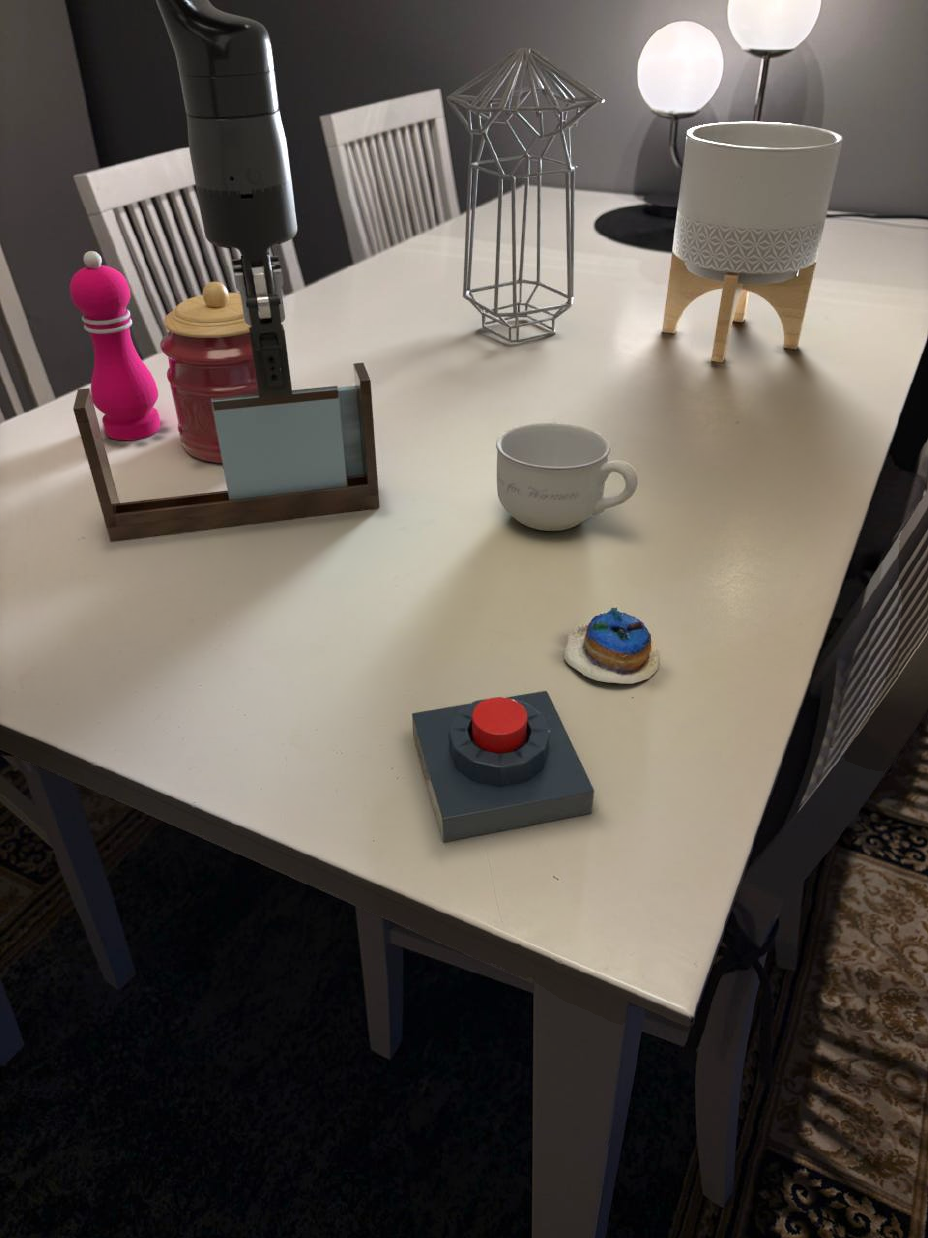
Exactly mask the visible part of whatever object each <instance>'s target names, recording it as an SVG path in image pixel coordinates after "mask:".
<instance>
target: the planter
mask: <svg viewBox="0 0 928 1238" xmlns="http://www.w3.org/2000/svg"><path fill="white" fill-rule="evenodd" d="M843 142H844V137H843V136H842V134H840V133H838V132H835V131H833V130H829V129H825V128H821V127H816V126H812V125H811V126H810V125H804V124H803V125H802V124H794V123H783V122H766V121H765V122H764V121H734V122H733V121H731V122H718V123H717V122H716V123H707V124H703V125H702V124H701V125H698V126H694V127H691V128H689V129H688V130H687V131H686V137H685V147H684V154H683V162H682V168H681V169H682V170H681V177H680V186H679V194H678V200H677V201H678V202H677V209H676V217H675V225H674V226H675V227H674V233H673V239H672V240H673V241H672V251H671V256H670V257H671V259H670V265H669V273H668V280H667V281H668V282H667V288H666V289H667V290H666V297H665V304H664V305H665V306H664V312H663V321H662V329H661V332H662V333H666V334H667V333H669V334H676V332H677V331H678V326H679V322H680V319H681V317H682V315H683V313H684V311H685V310H686V308H687V307H688V306H689V305H690V304H691V303H692V302H694V301H695V300H696V299H697V298H699V297H701V296H702V295H705V294H707V293H710V292H713V291H716V290H721V297H720V303H719V308H718V314H717V315H718V316H717V321H716V327H715V332H714V340H713V345H712V352H711V356H710V357H711V358H710V361H711V362H717V363H724V360H725V359H726V354H727V351H728V350H727V349H728V344H729V339H730V336H731V335H730V334H731V329H732V326H733V322H734V323H735V322H736V323H744V321H745V319H746V314H747V309H748V302H749V299H750V298H749V297H750V293H753V294H755V295H757V296H759V297H761V298H762V299H764V301H766V302H768V304H770V306H771V307H772V308H773V309H774V311H775V312H776V314H777V316H778V317H779V319H780V323H781V325H782V331H783V344H782V348H783V349H792V350H797V349H798V346H799V343H800V338H801V334H802V329H803V324H804V320H805V315H806V311H807V307H808V302H809V298H810V293H811V290H812V289H811V288H812V284H813V279H814V275H815V270H816V265H817V262H816V261H817V260H818V256H819V251H820V247H821V243H822V237H823V233H824V228H825V223H826V220H827V219H826V218H827V214H828V210H829V205H830V201H831V195H832V191H833V188H834V182H835V177H836V172H837V169H838V164H839V160H840V154H841V150H842V145H843Z"/></svg>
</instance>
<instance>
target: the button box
mask: <svg viewBox="0 0 928 1238" xmlns="http://www.w3.org/2000/svg"><path fill="white" fill-rule="evenodd" d="M505 698H509V699H512V700H514V701H516V702H518V703H519V704H521V705H522V706H523V707H524V709H525V710H526V713H527V732H526V739H525V742H524V743H523V744H522V746H521V747H519V748H518V749H516V750H514V751H512V752H508V753H502V754H498V753H493V752H488V751H485V750H483V749H481V748H480V747H479V746H478V745H477V744H476V743H475V742H474V740H473V737H472V713H473V710H474V708H475V707H476V706H477V705H478V704H479V703H480V702H482V701H484V700H486V699H487V698H484V699H478V700H475V701H473V702H471V703H464V704H458V705H453V706H452V705H451V706H447V707H441V708H435V709H428V710H422V711H416V712H412V713H411V717H412V718H411V722H412V737H413V741H414V743H415V746H416V751H417V755H418V757H419V761H420V765H421V768H422V772H423V775H424V779H425V782H426V786H427V790H428V793H429V796H430V801H431V804H432V807H433V811H434V815H435V818H436V822H437V825H438V829H439V832H440V836H441V839H442V842H444V843H445V842H451V841H455V840H461V839H467V838H471V837H476V836H477V837H478V836H481V835H487V834H491V833H496V832H497V833H498V832H502V831H507V830H513V829H517V828H522V827H527V826H532V825H539V824H543V823H547V822H552V821H553V822H554V821H558V820H564V819H569V818H574V817H578V816H583V815H588V814H591V813H593V805H594V795H595V789H594V787H593V785H592V783H591V781H590V779H589V777H588V775H587V772H586V770H585V768H584V766H583V764H582V762H581V760H580V758H579V755H578V753H577V751H576V749H575V747H574V745H573V743H572V741H571V739H570V737H569V734H568V732H567V730H566V729H565V726H564V724H563V722H562V720H561V718H560V715H559V713H558V711H557V709H556V707H555V705H554V703H553V701H552V699H551V696H550V694H549V692H548V691H547V690H541V691H537V692H530V693H524V694H519V695H513V696H507V697H505Z"/></svg>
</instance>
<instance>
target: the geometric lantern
mask: <svg viewBox="0 0 928 1238" xmlns="http://www.w3.org/2000/svg"><path fill="white" fill-rule="evenodd" d="M523 61H524V64H523ZM522 64H523V70H522V75H521V80H520V85H519V89H516V90H515V88H516V84H517V80H518V77H519V73H520V70H521V68H522ZM499 69H500V70H499ZM497 70H499V71H498V72H497V73H496V74H495V75H494V76H493V77H492V79H490V81H489V82H488V83H487V84H486V86H485V87H483V89H482V90H481V92H479V93H478V95H467V94H462V93H463V92H465V91H466V90H468V89H470V88H471V87H473V86H474V85H476V84H477V83H479V82H481V81H482V80H483V79H485V78H486V77H488V76H489V75H491V74H493V73H494V72H496V71H497ZM526 74H527V75H526ZM509 75H510V77H509V80H508V81H507V85H506V87H505V89H504V92H503V95H502V97H501V98H494V96H495V95H496V93H498V90H499V89H500V88H501V86H502V85H503V83H505V81H506V79H507V77H508V76H509ZM526 76H527V80H528V82H529V86H526V87H523V85H524V81H525V77H526ZM545 78H546V79H547V81H548V82H549V84H550V85H551V86H552V87H553V89H554V90H555V91H556V92H553V91H551V88H550V86H549V85H548V83H547V81H546V79H545ZM534 79H535V80H534ZM561 80H562V81H563V82H565V83H566V84H568V85H569V86H570V87H572V88H573V89H575V90H576V91H577V92H579V93H580V94H582V95H583V96H574V95H573V93H572V92H571V91H570V90H569V89H568V88H567V87H566V86H565V85H564V84H563V83H562V81H561ZM535 81H536V83H537V86H538V88H536V84H535ZM490 89H491V90H490ZM489 90H490V91H489ZM488 91H489V92H488ZM537 92H541V94H542V95H543V97H544V98H545V101H546V102H547V104H548V105H541V106H540V105H539V100H538V95H537V94H538V93H537ZM486 93H488V94H487V96H486ZM530 93H531V96H532V101H533V106H521V105H522V103H523V102H524V101H525V100H526V99H527V97H528V96H529V94H530ZM515 96H517V98H516V103H515V104H514V106H513V105H512V107H511V103H512V102H513V97H515ZM445 100H446V102H447V103H448V104H449V106H450V107H451V109H452V111H454V113H455V114H456V116H457V117H458V119H459V120H460V122H461V124H463V126H464V127H465V129H466V131H467V132H468V133H469V134H470V137H469V152H468V153H469V156H468V165H467V181H466V182H467V185H466V211H465V213H466V214H465V232H464V233H465V237H464V259H463V260H464V261H463V281H462V282H463V286H462V298H463V299H465V300H466V301H468V302H469V303H470V304H471V305H472V306H473V307H474V308H475V309H476V310H477V311H478V312H479V314H481V328H483V329H484V330H486V331H488V332H490V333H492V334H494V335H496V336H497V337H499V338H501V339H503V340H505V341H507V342H509V343H521V342H525V341H531V340H534V339H539V338H542V337H547V336H550V335H556V329H555V324H556V319H557V318H558V317H560V316H561V315H563V314H564V313H565V312H566V311H568V310H569V309H571V308H572V307H573V304H574V300H575V296H574V294H575V290H574V289H575V209H576V208H575V206H576V205H575V204H576V203H575V201H576V200H575V198H576V197H575V196H576V195H575V194H576V170H577V169H578V166H577V165H576V164H572V151H571V149H572V148H571V147H572V146H571V129H572V128H573V127H575V128H576V127H578V124H579V123H578V122H579V120H580V119H581V118H582V117H583V116H585V114H587V113H588V112H590V110H592V109H593V108H594V107H596V106H597V105H598V104H604V103H605V102H606V100H605V98H603V97H602V96H601V95H599V94H598V93H597V92H595V91H593V90H592V89H591V88H589V87H588V86H587V85H586V84H584V83H582V82H581V81H580V80H578V79H577V77H575V76H573V75H572V74H570V73H569V72H567V71H566V70H565V69H563V68H562V67H561V66H559V65H558V64H557V63H555V62H554V61H552V60H551V59H550V58H548V57H547V56H546V55H544V54H543V53H542V52H540V51H538V50H537V49H536V48H534V47H532V48H530V47H520V48H517V49H515V50H514V51H512V52H511V53H509V54H508V55H506V56H505V57H503V58H502V59H501V60H499V61H498V62H496V63H495V64H494V65H492V66H490V67H489V68H487V69H486V70H485V71H483V72H482V73H480V74H478V75H477V76H476V77H474V78H473V79H471V80H470V81H468V82H467V83H466V84H464V85H463V86H461V87H459V88H458V89H456V90H455V91H454V92H452V93H450V94H449V95H448V96H446V98H445ZM557 100H558V101H560V102H563V103H564V104H565V106H564V107H560V105H559V103H558V101H557ZM468 101H471V103H469V102H468ZM479 102H481V104H480V105H479V106H477V104H478V103H479ZM455 103H456V104H457V105H460V106H463V108H465V109H466V115H467V120H466V118H465V117H464V115H463V114H462V112H461V111H460V109H459V108H458V107H457V105H456V104H455ZM494 104H495V105H496V104H499V105H498V106H492V105H494ZM486 106H488V107H486ZM580 109H581V110H580ZM575 110H576V112H575V115H574V116H573V117H572V118H570V119H569V120H567V117H568V113H569V112H572V111H575ZM471 112H472V113H473V114H474V115H476V120H477V126H478V129H474V128H473V127H472V116H471V115H472V114H471ZM502 112H503V113H505V118H499V115H500V114H501V113H502ZM543 112H553V115H554V117H555V118H556V121H557V122H558V123H557V124H556V125H555V128H554V130H553V131H549V132H545V133H544V117H543ZM486 113H487V115H486ZM521 113H535V116H536V118H539V129H540V133H539V132H538V131H537V130H536V129H535V128H534V127H533V126H532V125H531V124H530V123H529V122H528V121H527V120H526V119H525V117H524V116H522V115H521ZM513 115H514V117H515V118H516V119H517V120H518V121H519V122H520V123H521V124H522V125H523V126H524V127H525V128H526V129H527V131H529V133H531V134H532V135H533V136H534V138H533V139H532V141H531V142H530V144H529V145H528V147H527V148H525V147H524V145H523V144H522V142H521V140H520V139H519V137H518V135H517V134H516V132H515V130H514V129H513V127H512V126H511V124H510V122H509V120H511V118H512V117H513ZM481 119H482V120H484V121H485V123H484V125H483V126H482V122H481ZM493 123H495V124H506V125H507V127H508V128H509V130H510V131H511V133H512V135H513V136H514V138H515V139H516V141H517V143H518V144H519V147H520V148H521V149H522V151H523V154H522V155H516V156H509V157H508V156H507V157H501V158H498V157H497V154H496V152H495V150H494V148H493V145H492V142H491V140H490V138H489V136H488V131H489V129H490V126H491V125H492V124H493ZM565 130H567V141H566V137H565V132H564V131H565ZM473 135H482V136H481V140H480V144H479V147H478V151H477V155H476V158H475V161H473V162H472V157H473V156H472V154H473V138H474V137H473ZM558 135H559V137H560V141H561V145H562V150H563V154H564V158H565V162H563V161H560V160H556V159H552V158H548V157H545V155H546V153H547V152H548V150H549V148H550V146H551V144H552V142H553V141H554V139H555V138H556V136H558ZM547 138H548V140H547V143H546V144H545V146H544V148H543V150H542V152H541V153H540V155H531V154H530V155H529V154H528V153H529V151H530V150H531V148H532V147H533V146H534V144H535V143H536V141H537V140H543V139H547ZM485 143H486V146H487V148H488V151H489V152H490V154H491V157H492V158H491V159H485V160H481V157H482V153H483V149H484V146H485ZM524 159H525V171H524V174H517V175H514V174H515V172H516V170H517V169H518V168H519V166H520V164H521V163H522V161H523V160H524ZM514 160H518V161H517V163H516V165H515V166H514V167H513V169H512V171H511V172H510V174H505V172H504V170H503V168H502V166H501V164H500V162H507V161H514ZM530 161H537V172H534V173H530V164H531V162H530ZM542 161H545V162H549V163H553V164H556V165H560V166H564V167H566V169H560V170H552V171H542ZM491 163H494V164H495V166H496V168H497V170H498V172H496V171H493V170H490V169H487V168H485V167H482V166H479V165H483V164H491ZM479 171H482V172H483V173H487V174H489V175H493V176H496V177H498V191H497V192H498V193H497V217H496V223H497V224H496V245H495V266H494V267H495V269H494V270H495V271H494V272H495V273H494V284H491V285H484V286H480V287H475V288H471V286H472V272H473V271H472V269H473V253H474V239H475V223H476V206H477V193H478V175H479ZM560 174H565V175H564V176H565V178H564V179H565V181H564V182H565V233H566V234H565V235H566V236H565V237H566V238H565V239H566V286H567V289H566V290H567V291H566V292H567V293H566V292H564V291H562V290H559V289H557V288H554V287H552V286H551V285H548V284H546V283H543V282H541V257H542V255H541V254H542V253H541V250H542V249H541V245H542V244H541V243H542V228H541V227H542V226H541V225H542V176H551V175H560ZM472 176H473V177H472ZM535 177H537V178H536V179H537V182H536V184H537V187H536V189H537V196H536V197H537V198H536V207H537V208H536V280H533V279H532V280H530V279H526V278H525V279H524V278H523V276H524V263H525V248H526V246H525V245H526V232H527V215H528V213H527V212H528V199H529V182H530V181H529V179H530V178H535ZM472 178H473V180H472ZM516 179H524V186H523V187H524V188H523V189H524V190H523V206H522V223H521V237H520V238H521V241H520V243H521V244H520V256H519V257H520V258H519V269H518V270H519V271H518V279H517V209H516V208H517V206H516V205H517V204H516V203H517V202H516V201H517V200H516V198H517V197H516V195H517V194H516V192H517V191H516ZM504 180H507V181H508V180H509V181H510V185H511V186H510V187H511V190H510V191H511V199H510V200H511V249H512V250H511V262H512V263H511V265H512V268H511V269H512V272H511V273H512V280H510V281H506V282H505V281H504V282H501V283H500V262H501V240H502V239H501V237H502V216H503V215H502V214H503V183H504V182H503V181H504ZM472 181H473V183H472ZM471 197H472V199H471ZM518 284H519V300H518V292H517V290H518V289H517V288H518V287H517V286H518ZM523 284H526V285H534V288H533V290H532V292H531V293H530V295H529V297H528V298H527V300H526V302H523ZM508 286H512V303H510V304H507V305H502V306H499V289H500V288H503V287H508ZM538 287H541V288H544V289H545V290H548V291H550V292H553V293H554V294H557V295H559V296H561V297H563V298H566V299H567V301H566V302H565V303H563V304H562V303H561V304H556V305H551V306H550V305H549V306H544V307H538V306H536V305H533V304H530V301H531V300H532V298H533V296H535V292H536V291H537V289H538ZM493 289H494V292H493V293H494V294H493V295H494V296H493V308H491V309H490V307H488V306H486V305H484V304H482V303H481V302H479V301H478V300H477V299H476V298H475V296H474V295H473V293H477V292H483V291H488V290H493ZM521 306H524V310H522V311H521ZM508 308H513V309H512V312H498V311H501V310H504V309H508ZM529 308H531V309H529ZM556 310H557V311H556ZM551 311H556V312H555V313H554V312H551ZM538 313H544V314H546V315H549V316H551V317H547V318H543V319H542V318H541V319H537V318H535V317H533V316H530V315H534V314H538ZM489 314H490V315H489ZM486 318H488V319H489V320H488V321H486ZM519 318H526V319H529V320H531V321H529V322H524V323H520V324H519ZM512 319H515V321H514V325H511V324H509V322H508V321H509V320H512ZM548 321H549V322H550V321H551V325H549V324H547V323H545V322H548ZM495 323H498V324H500V325H502V326H504V327H506V328H508V337H507V336H505V335H503V334H501V333H500V332H498V331H496V330H493V329H492V328H490V327H488V326H486V325H491V324H495ZM536 324H539V325H541V326H543V327H545V328H547V329H549V330H551V331H549V332H544V333H540V334H535V335H532V336H528V337H523V338H520V328H522V327H526V326H527V327H528V326H532V325H536ZM512 329H515V331H516V333H515V334H516V335H515V339H512Z"/></svg>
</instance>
